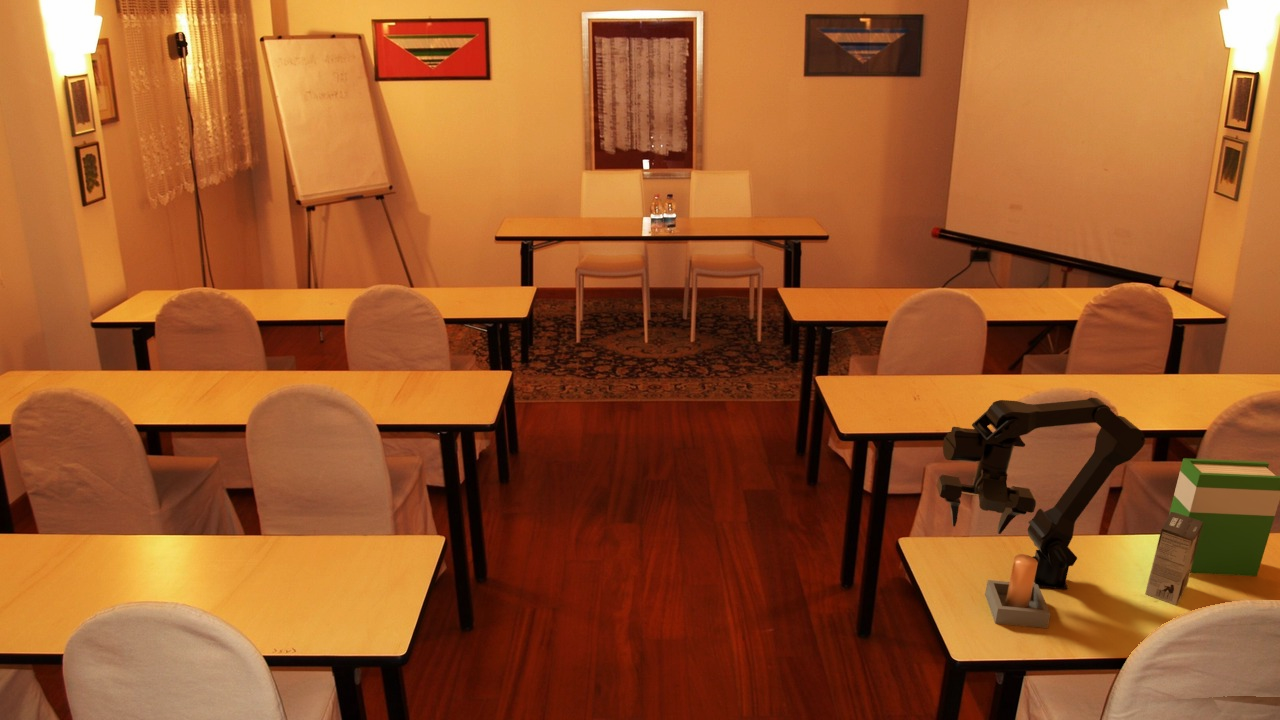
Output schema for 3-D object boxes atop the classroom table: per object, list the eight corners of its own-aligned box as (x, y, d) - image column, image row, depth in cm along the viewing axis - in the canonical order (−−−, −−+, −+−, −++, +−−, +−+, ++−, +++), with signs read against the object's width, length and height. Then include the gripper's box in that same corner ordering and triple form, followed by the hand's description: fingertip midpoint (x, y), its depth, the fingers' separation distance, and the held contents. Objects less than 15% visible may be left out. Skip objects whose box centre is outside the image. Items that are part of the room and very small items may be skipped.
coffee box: (1154, 575, 213) (1171, 510, 207) (1187, 587, 209) (1205, 520, 203) (1143, 594, 206) (1160, 527, 200) (1177, 606, 202) (1195, 538, 196)
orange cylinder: (1031, 606, 199) (1041, 560, 195) (1022, 616, 196) (1032, 569, 192) (1010, 597, 202) (1020, 551, 198) (1001, 606, 199) (1010, 560, 195)
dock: (1034, 598, 204) (1037, 584, 202) (1047, 628, 194) (1050, 613, 193) (985, 594, 205) (987, 579, 203) (995, 623, 195) (998, 608, 194)
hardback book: (1239, 557, 220) (1266, 461, 212) (1256, 576, 214) (1286, 478, 205) (1159, 553, 221) (1183, 458, 212) (1174, 572, 214) (1199, 474, 205)
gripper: (952, 472, 192) (935, 541, 198) (1050, 488, 190) (1030, 557, 196) (944, 448, 202) (928, 514, 208) (1037, 463, 201) (1018, 529, 206)
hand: (976, 529), depth 204 cm, fingers open, 9 cm apart
